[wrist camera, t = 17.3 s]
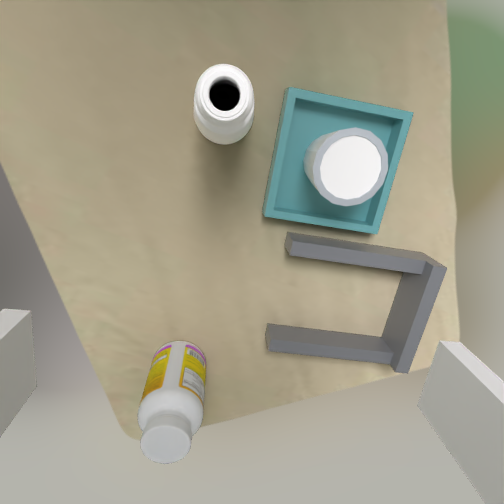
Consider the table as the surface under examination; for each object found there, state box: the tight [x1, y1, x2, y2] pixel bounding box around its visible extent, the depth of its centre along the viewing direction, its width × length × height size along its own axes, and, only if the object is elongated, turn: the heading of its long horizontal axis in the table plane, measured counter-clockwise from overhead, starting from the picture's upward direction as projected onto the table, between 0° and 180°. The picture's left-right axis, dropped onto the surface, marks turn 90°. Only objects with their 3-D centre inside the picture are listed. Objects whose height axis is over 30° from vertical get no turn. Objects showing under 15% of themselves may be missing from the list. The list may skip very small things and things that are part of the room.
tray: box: [262, 87, 413, 234], centre depth 38 cm, size 13×13×2 cm
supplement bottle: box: [138, 341, 206, 464], centre depth 39 cm, size 7×7×13 cm
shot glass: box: [303, 127, 388, 206], centre depth 35 cm, size 7×7×7 cm
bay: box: [265, 232, 447, 373], centre depth 42 cm, size 17×14×5 cm
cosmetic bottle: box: [194, 64, 254, 144], centre depth 26 cm, size 6×6×22 cm
